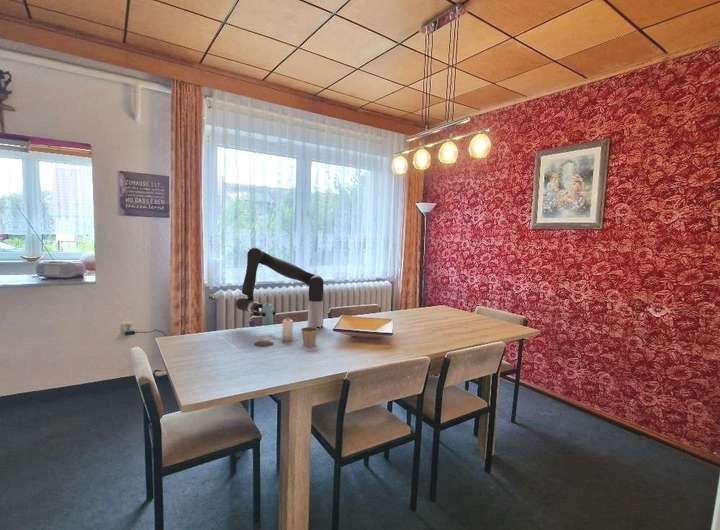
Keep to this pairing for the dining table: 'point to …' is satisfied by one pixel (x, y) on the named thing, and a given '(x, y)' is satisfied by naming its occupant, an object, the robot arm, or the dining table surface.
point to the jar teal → (268, 314)
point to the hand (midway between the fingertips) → (269, 314)
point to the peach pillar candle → (287, 329)
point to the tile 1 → (266, 338)
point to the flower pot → (309, 335)
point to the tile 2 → (287, 341)
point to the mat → (264, 343)
